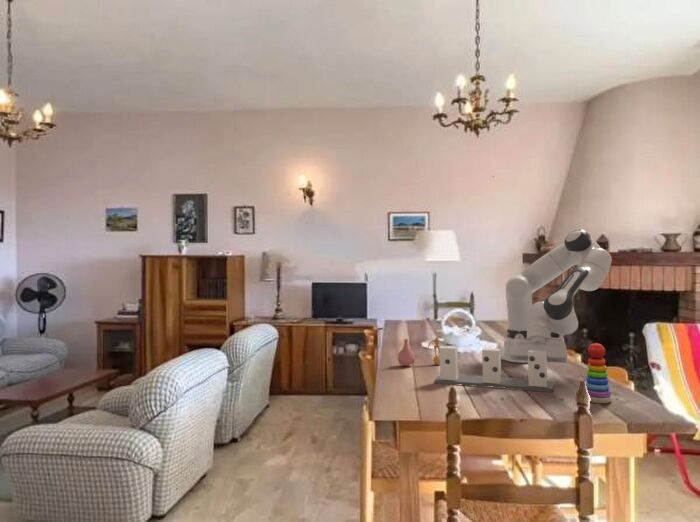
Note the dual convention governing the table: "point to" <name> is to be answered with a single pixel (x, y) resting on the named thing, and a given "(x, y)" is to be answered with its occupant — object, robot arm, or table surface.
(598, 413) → the table surface
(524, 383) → the grey flat board
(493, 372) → the key two
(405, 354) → the perfume bottle
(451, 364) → the key one
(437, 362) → the figurine
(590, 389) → the stacking toy
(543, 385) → the key three
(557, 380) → the table surface
